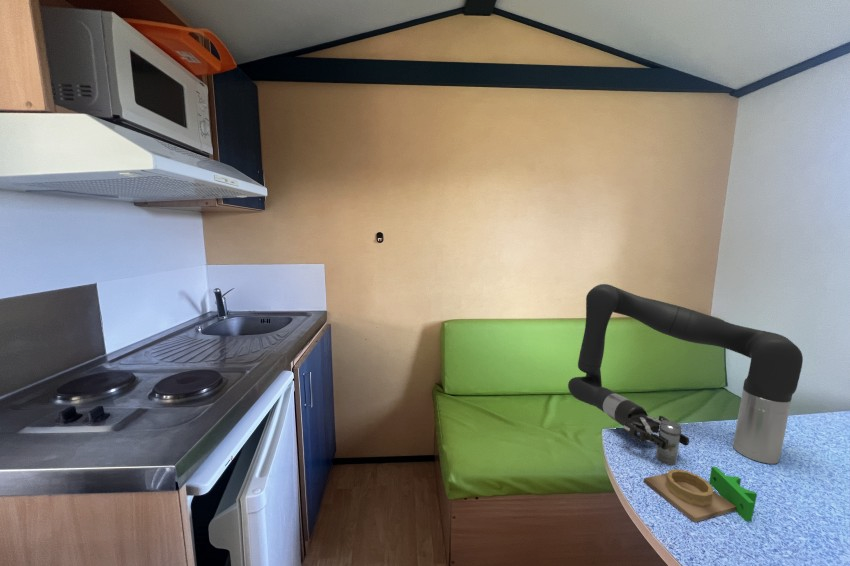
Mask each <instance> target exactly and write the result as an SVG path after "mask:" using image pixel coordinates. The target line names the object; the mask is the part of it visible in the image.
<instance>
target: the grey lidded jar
mask: <svg viewBox="0 0 850 566" xmlns="http://www.w3.org/2000/svg"><path fill="white" fill-rule="evenodd" d="M668 420H669V419H668ZM668 420H662V421H661V423H660V425H659V434H658V436H659V437H661V438H663V439H664V440H666V441H667V442H668V449H666V450H664V449H662V448H661V447H659V446H657V445H656V452H655V453H656V454H655V458H656V460H657V461H659V462H660V463H661V464H663V465H666V466H671V467H673V466H675V465H677V460H678V453H679V446H680V442H679V440H680V435H681V434H682V426H681V425H680V424H678V423H677V422H674V421H672V420H669V421H668Z"/></svg>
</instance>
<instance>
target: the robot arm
mask: <svg viewBox="0 0 850 566" xmlns="http://www.w3.org/2000/svg"><path fill="white" fill-rule="evenodd" d="M613 313H615V314H619V315H622V316H626V317H630V318H632V319H634V320H637V321H638V322H639V323H642V324H644V325H645V326H646V327H648V328H650V329H652V330H655V331H657V332H659V333H661V334H663V335H667V336H669V337H673V338H675V339H678V340H682V341H684V342H689V343H694V344H699V345H706V346H714V347H719V348H722V349H726V350H729V351H731V352H734V353H737V354H740V355H742V356H744V357H747V358H749V359H750V363H749V370H748V374H747V376H746V377H745V379H744V380H743V387H742V393H741V399H740V404H739V410H738V415H737V420H736V427H735V432H734V438H733V442H732V443H733V444H732V447H733V448H734V450H735V451H736V452H737V453H739V454H741V455H742V456H744V457H746V458H748V459H750V460H753V461H756V462H760V463H764V464H769V465H772V464H773V465H774V464H778V463H779V462H780V458H781V455H782V451H783V450H782V449H783V445H784V440H785V435H786V429H787V425H788V418H789V412H790V408H791V403H792V400H793V399H792V397H793V395H794V393H795V392H796V391H797V389H798V384H799V379H800V375H801V373H802V368H803V360H804V359H803V354H802V353H803V352H802V351H801V349H800V348H799V347H798V346H797V345H796V344H795V343H794V342H792V341H791V339H789V338H787V337H786V336H784V335H782V334H779V333H776V332H771V331H766V330H761V329H755V328H751V327H747V326H742V325H738V324H734V323H730V322H729V321H728V322H727V321H725V320H722V319H720V318H717V317H715V316H712V315H709V314H705V313H703V312H700V311H696V310H695V309H694V310H693V309H690V308H687V307H683V306H680V305H677V304H674V303H673V304H672V303H670V302H665V301H660V300H656V299H652V298H648V297H643V296H640V295H637V294H634V293H631V292H629V291H626V290H624V289H622V288H621V289H620V288H618V287H616V286H614V285H611V284H607V283H600V284H598V285H595V286H594V287H592V289H590V290H589V291H588V292H587V294H586V297H585V323H584V324H585V325H584V332H583V337H582V342H581V345H580V347H581V348H580V349H579V350H580V351H579V356H578V361H577V368H578V369H579V370H580V371H581V372H582V373H584V374H585V376H575V377H572V378H570V380H568V384H567V388H568V390H569V393H570V394H571V395H572V396H573V397H574V398H575V400H578V401H580V402H582V403H585V404H588V405H590V406H593V407H596V408H597V409H598V410H600V411H602V412H603V413H605V414H606V415H607V416H608V417H610V418H611V419H612V420H614V421H615V422H617V423H618V424H620V425H621V426H623V429H622V431H623V432H625V433H626V434H628V435H629V436H632V437H634V438H635V439H636V440H638V441H639V442H643V443H644V442H645V441H647V442H649V443H653V444H654V445H655V446H656V447H657V446H659V447H661V448H662V449H664V450H666V449H668V442H667V441H666V440H664V439H663V438H661V437H659V430H660V429H659V427H660V423H661V421H662V420H668V421H670V420H669V419H668V418H666V417H665V416H663V415H659V416H658V418H655V417H653V416H650V415H648V413H647V412H646V409H645V408H644V407H642V406H640V405H639V404H638V403H635V402H634V401H632V400H630V399H629V398H626V397H625V396H623V395H620V394H618V393H616V392H614V391H613V390H611V389H609V388H607V387H603V384H602V383H603V382H602V373H601V367H602V363H603V359H604V353H605V343H606V333H607V328H608V326H609V322H610V319H611V317H612V315H613ZM638 433H639V434H638ZM679 444H681V445H683V446H689V444H690V438H689V437H688V436H687V435H685V434H683V433H681V435H680V440H679Z"/></svg>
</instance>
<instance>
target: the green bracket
mask: <svg viewBox="0 0 850 566" xmlns="http://www.w3.org/2000/svg"><path fill="white" fill-rule="evenodd" d="M741 480H742V479H741V478H740V477H739V476H734V475H733V476H731V475H726V474H725V473H724V472H723V471H722V470H720V468H719V467H718V466H711V469H710V476H709V481H708V483H709V484H710V485H711V487H712V488H713V487H714V488H715V489H716V490H717V491H718V492H717V491H716V490H715V489H714V488H713V489H714V490H715V491H716V492H717V494H719V495H720V496H722V497H723V498H724V499H726V500H727V501H729V502H730V503H732V504H733V505H735V506H736V511H735V512H736V513H737V514H738V515H739V516H740V517H741V519H742V520H744V522H752V519H753V513H754V511H755V507H756V506H755V505H756V502H757V495H758V493H757V492H756V491H754V490H750V489H747V488H744V487H743V486H741Z"/></svg>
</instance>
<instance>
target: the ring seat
mask: <svg viewBox="0 0 850 566" xmlns="http://www.w3.org/2000/svg"><path fill="white" fill-rule="evenodd" d="M643 483H645V485H647V486H648V487H649V488H650V489H652V490H653V491H654V492H656V494H658V495H659V496H661V498H663V499H664V500H666V501H667V502H668V503H669V504H671V505H672V506H673V507H674V508H675V509H676V510H678V511H680V512H681V514H683V515H684V516H685V517H687V518H688V519H689V520H690V521H691V522H693V523H698V522H701V521H704V520H705V521H706V520H709V519H711V518H716V517H719V516H722V515H725V514H729V512H730V513H732V512H736V506H735V505H733V504H732V503H730V502H729V501H727V500H726V499H724V498H723V497H722V496H721V495H720V494H719V493H718V492H717V491H716V492H715V491H714V488H713V486H712V485H711V484H710V483H709V481H707V480H705V479H704V478H703V477H701V476H700V475H698V474H696V473H693V472H690V471H689V470H684V469H678V468H675V469H669V470H668V472H666V473H662V474H656V475H652V476H648V477H644V479H643Z"/></svg>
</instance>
